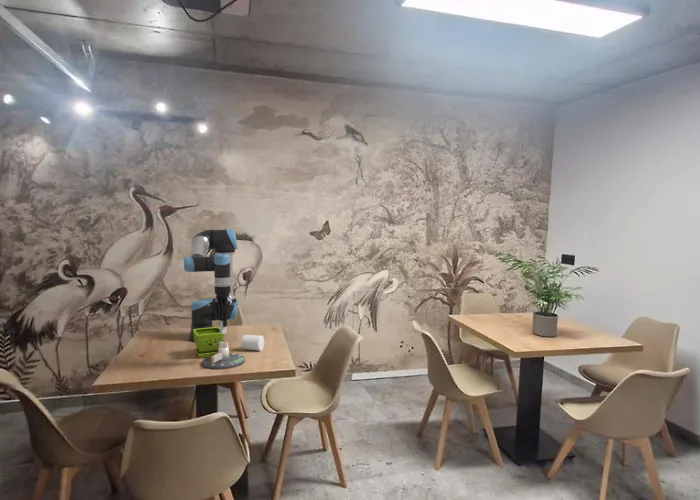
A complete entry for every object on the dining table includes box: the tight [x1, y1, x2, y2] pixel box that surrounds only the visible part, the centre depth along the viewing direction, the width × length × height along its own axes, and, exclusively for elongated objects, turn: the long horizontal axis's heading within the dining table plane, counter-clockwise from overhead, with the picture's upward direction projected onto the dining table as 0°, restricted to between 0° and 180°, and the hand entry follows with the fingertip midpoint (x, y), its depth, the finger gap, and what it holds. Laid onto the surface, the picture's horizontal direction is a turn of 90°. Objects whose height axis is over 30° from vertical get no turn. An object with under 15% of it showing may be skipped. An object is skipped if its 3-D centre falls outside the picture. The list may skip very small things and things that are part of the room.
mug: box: [240, 334, 265, 352], centre depth 241 cm, size 12×10×8 cm
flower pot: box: [193, 326, 225, 359], centre depth 231 cm, size 14×14×13 cm
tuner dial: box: [202, 352, 246, 370], centre depth 217 cm, size 20×20×2 cm
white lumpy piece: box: [211, 341, 230, 363], centre depth 214 cm, size 12×5×8 cm, turn 161°
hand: (223, 332), depth 217 cm, fingers closed
